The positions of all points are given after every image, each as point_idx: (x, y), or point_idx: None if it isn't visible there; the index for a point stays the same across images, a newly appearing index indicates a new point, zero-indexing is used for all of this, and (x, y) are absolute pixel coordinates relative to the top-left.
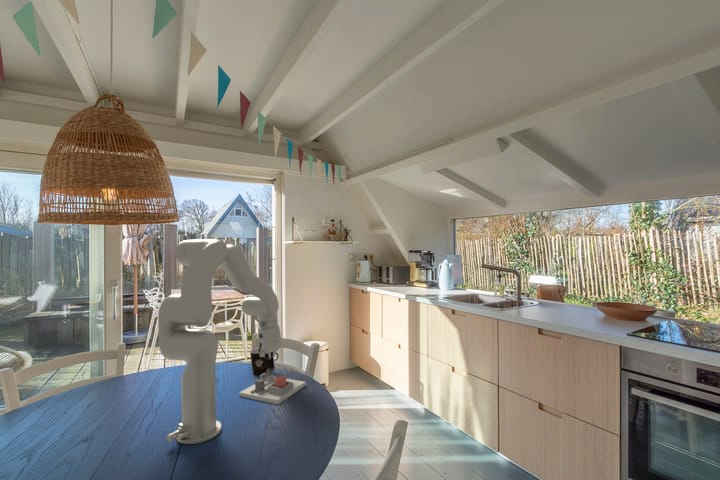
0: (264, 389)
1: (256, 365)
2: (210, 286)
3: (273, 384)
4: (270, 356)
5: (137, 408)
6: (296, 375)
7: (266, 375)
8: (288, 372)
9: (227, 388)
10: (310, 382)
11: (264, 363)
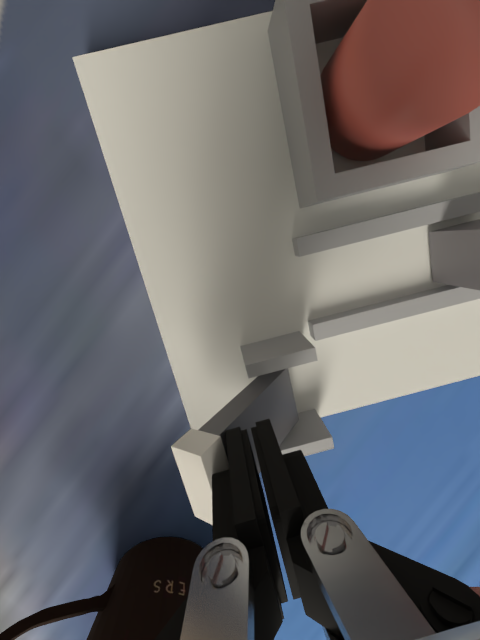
0: (435, 230)
1: None
2: None
3: (425, 151)
4: (328, 558)
5: None
6: (4, 340)
7: (285, 415)
8: (16, 441)
9: (445, 508)
10: (5, 97)
11: (156, 623)
